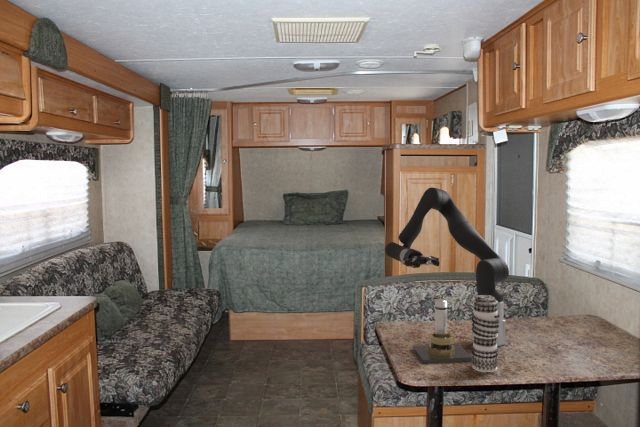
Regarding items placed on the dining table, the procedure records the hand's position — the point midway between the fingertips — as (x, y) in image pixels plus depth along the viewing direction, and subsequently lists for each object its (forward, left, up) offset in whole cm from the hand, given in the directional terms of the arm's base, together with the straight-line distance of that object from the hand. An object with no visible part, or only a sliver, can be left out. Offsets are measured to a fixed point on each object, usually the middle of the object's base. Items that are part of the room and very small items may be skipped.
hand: (428, 264), depth 203 cm
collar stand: (+1, +20, -30) cm, 36 cm away
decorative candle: (-10, +33, -30) cm, 46 cm away
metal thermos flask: (+1, +20, -29) cm, 35 cm away
